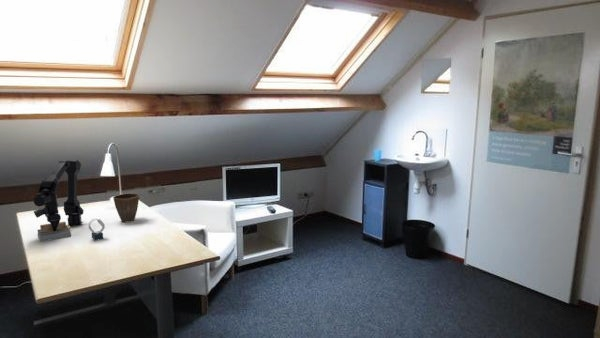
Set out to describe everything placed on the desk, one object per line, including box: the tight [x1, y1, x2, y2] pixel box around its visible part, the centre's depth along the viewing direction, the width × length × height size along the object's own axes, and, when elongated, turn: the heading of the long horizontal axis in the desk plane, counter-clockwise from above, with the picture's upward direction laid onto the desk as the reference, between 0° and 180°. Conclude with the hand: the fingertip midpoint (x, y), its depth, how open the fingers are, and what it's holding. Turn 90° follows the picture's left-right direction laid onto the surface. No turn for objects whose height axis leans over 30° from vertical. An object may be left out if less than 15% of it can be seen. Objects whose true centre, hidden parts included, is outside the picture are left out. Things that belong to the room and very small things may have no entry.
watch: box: [87, 218, 106, 241], centre depth 222 cm, size 6×8×11 cm
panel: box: [39, 221, 67, 233], centre depth 228 cm, size 12×2×6 cm, turn 126°
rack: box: [37, 224, 72, 242], centre depth 228 cm, size 15×15×4 cm
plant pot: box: [113, 193, 140, 223], centre depth 256 cm, size 15×15×16 cm
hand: (53, 229), depth 228 cm, fingers open, 9 cm apart
